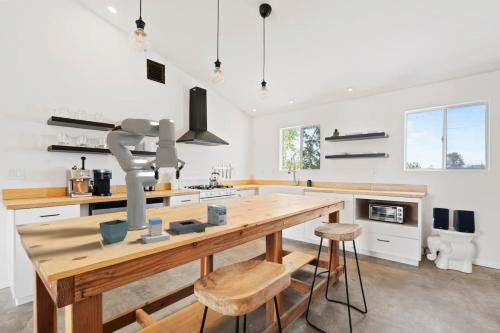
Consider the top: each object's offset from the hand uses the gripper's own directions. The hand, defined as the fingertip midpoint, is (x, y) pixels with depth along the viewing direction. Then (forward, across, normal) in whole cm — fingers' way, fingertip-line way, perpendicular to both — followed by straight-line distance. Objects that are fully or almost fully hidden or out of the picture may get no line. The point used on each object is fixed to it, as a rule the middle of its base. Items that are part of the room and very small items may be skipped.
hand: (167, 179), depth 120 cm
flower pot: (+27, -21, -9) cm, 36 cm away
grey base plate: (+28, -4, -7) cm, 29 cm away
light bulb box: (+28, +23, +24) cm, 44 cm away
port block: (+27, +8, +8) cm, 30 cm away
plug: (+27, -4, -7) cm, 28 cm away
